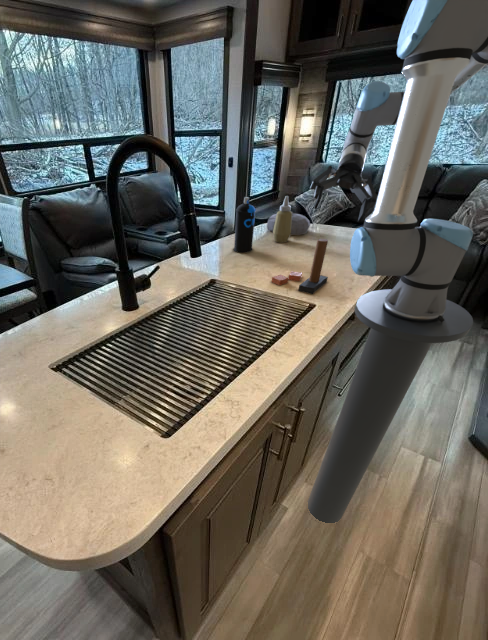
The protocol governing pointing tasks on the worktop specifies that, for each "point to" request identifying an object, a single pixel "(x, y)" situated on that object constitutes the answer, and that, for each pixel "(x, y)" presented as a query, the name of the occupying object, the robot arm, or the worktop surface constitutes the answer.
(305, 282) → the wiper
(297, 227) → the grey oval stone
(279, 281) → the red square block
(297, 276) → the pink square block
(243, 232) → the aerosol can
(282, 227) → the squeeze bottle
